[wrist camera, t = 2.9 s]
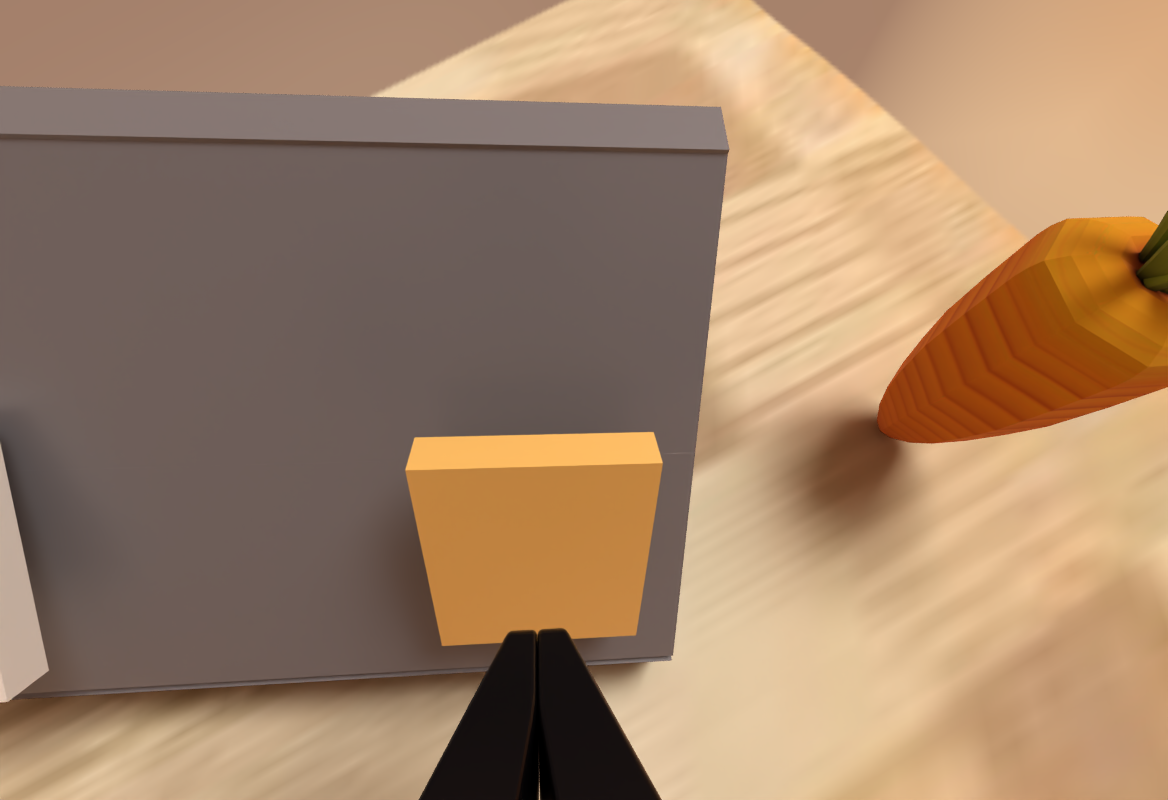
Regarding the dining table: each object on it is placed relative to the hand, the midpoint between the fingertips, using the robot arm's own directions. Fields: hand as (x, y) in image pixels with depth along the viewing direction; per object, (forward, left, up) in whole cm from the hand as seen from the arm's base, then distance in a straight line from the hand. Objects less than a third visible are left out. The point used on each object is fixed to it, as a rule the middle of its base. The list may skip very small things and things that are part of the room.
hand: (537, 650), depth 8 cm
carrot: (+12, -11, -12) cm, 21 cm away
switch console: (+1, +8, -12) cm, 15 cm away
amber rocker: (+2, +1, -7) cm, 7 cm away
